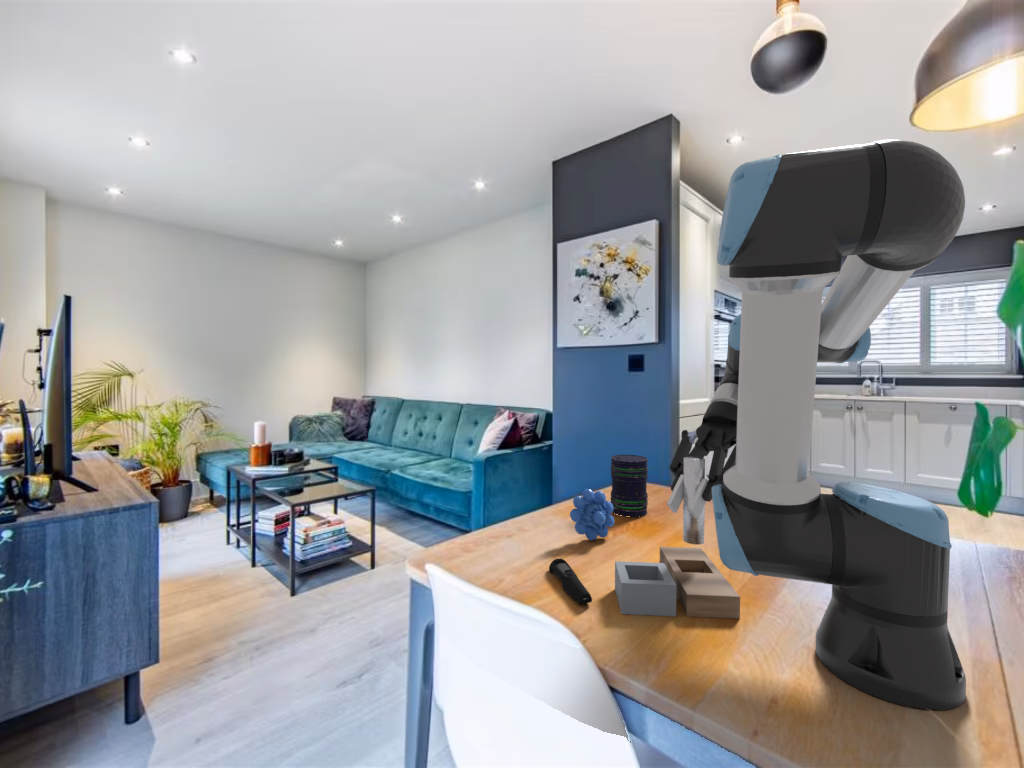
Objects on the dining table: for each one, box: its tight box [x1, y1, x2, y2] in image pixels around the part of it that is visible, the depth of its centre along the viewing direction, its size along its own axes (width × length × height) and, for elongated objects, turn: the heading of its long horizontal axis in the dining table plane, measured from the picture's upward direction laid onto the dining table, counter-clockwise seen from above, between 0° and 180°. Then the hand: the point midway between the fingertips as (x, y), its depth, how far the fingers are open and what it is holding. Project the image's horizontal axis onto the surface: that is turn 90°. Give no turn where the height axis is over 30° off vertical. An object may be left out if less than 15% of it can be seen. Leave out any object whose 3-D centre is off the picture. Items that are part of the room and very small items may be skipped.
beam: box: [659, 546, 741, 620], centre depth 83 cm, size 20×8×4 cm, turn 174°
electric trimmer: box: [548, 558, 593, 605], centre depth 84 cm, size 4×16×3 cm, turn 13°
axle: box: [682, 457, 706, 546], centre depth 84 cm, size 4×4×15 cm
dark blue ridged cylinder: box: [610, 454, 649, 518], centre depth 127 cm, size 10×10×15 cm
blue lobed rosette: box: [569, 488, 616, 541], centre depth 106 cm, size 12×7×12 cm, turn 113°
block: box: [614, 560, 677, 617], centre depth 78 cm, size 8×8×5 cm
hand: (682, 510), depth 82 cm, fingers closed on axle, 3 cm apart
